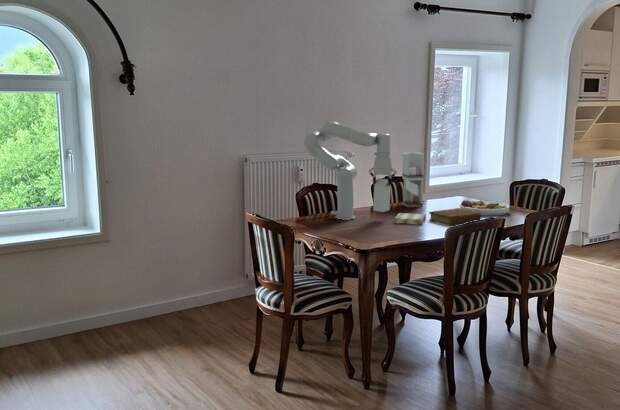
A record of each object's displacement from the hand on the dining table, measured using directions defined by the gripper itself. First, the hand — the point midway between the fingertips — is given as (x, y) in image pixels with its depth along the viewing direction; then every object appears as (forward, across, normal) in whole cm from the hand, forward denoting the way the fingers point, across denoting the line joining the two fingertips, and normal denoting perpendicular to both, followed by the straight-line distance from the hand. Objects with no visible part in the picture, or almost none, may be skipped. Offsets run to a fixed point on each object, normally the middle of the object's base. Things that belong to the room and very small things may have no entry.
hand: (382, 184), depth 359 cm
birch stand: (+21, +17, +2) cm, 27 cm away
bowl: (+21, +58, +41) cm, 74 cm away
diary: (+21, +42, +9) cm, 48 cm away
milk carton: (+16, 0, 0) cm, 16 cm away
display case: (+22, +11, +55) cm, 60 cm away
